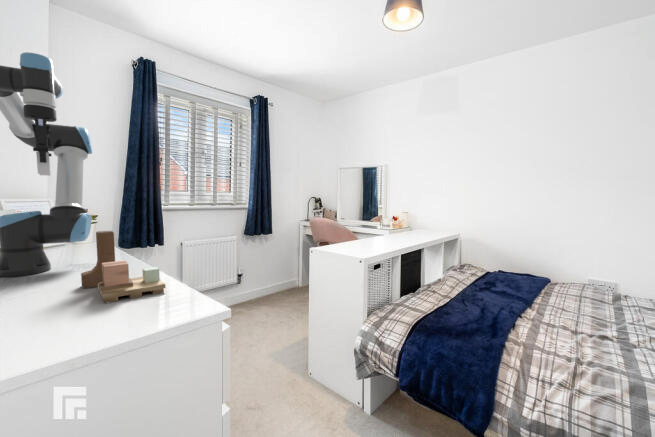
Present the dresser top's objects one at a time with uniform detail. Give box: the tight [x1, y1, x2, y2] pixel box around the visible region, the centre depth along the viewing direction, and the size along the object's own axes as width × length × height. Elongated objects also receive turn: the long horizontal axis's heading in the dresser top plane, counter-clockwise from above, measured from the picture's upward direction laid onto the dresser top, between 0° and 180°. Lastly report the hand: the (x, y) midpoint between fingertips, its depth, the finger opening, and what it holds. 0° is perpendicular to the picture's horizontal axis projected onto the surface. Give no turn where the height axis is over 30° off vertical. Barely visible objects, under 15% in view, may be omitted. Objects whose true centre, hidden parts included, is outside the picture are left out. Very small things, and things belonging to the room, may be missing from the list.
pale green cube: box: [142, 266, 161, 283], centre depth 99 cm, size 4×4×4 cm
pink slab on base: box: [99, 259, 133, 291], centre depth 93 cm, size 6×8×7 cm
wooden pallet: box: [97, 276, 166, 304], centre depth 96 cm, size 14×16×2 cm
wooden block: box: [80, 230, 116, 289], centre depth 102 cm, size 9×4×18 cm, turn 133°
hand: (44, 174), depth 97 cm, fingers open, 13 cm apart
